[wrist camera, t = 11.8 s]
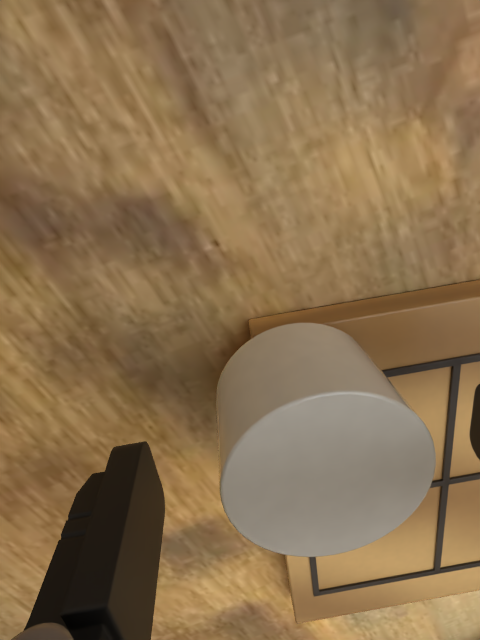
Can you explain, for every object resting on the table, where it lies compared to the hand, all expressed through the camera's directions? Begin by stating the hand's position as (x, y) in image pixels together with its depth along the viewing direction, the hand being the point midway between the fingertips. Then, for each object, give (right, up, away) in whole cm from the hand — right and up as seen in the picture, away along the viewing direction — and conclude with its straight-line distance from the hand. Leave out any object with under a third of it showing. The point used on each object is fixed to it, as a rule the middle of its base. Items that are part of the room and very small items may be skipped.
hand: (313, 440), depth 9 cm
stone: (0, +1, +2) cm, 2 cm away
